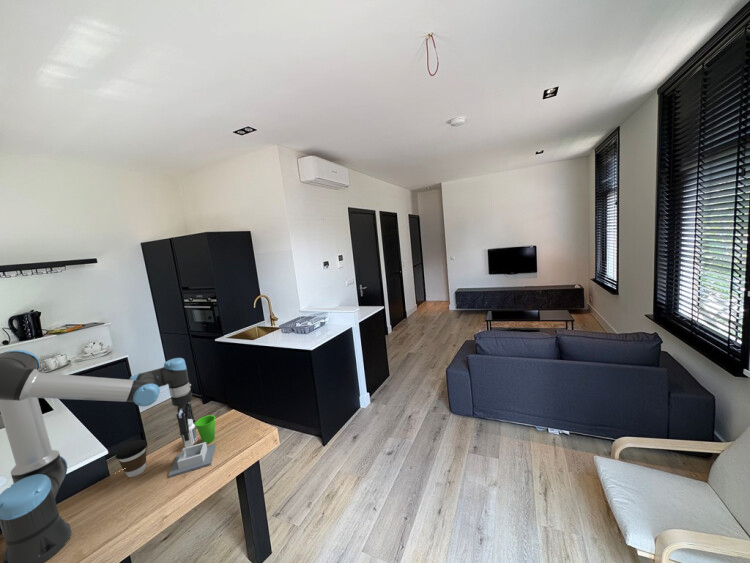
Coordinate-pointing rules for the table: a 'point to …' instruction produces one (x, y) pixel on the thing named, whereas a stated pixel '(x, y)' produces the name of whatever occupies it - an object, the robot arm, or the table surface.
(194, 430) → the pill bottle
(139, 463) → the coffee cup
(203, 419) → the cup
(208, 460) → the socket
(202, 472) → the table surface
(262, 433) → the table surface
